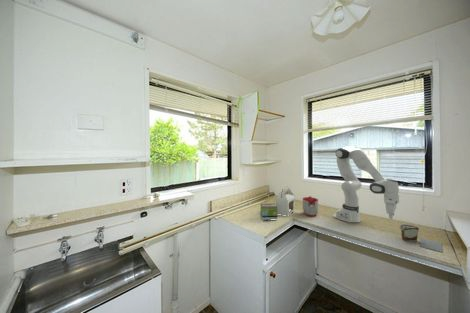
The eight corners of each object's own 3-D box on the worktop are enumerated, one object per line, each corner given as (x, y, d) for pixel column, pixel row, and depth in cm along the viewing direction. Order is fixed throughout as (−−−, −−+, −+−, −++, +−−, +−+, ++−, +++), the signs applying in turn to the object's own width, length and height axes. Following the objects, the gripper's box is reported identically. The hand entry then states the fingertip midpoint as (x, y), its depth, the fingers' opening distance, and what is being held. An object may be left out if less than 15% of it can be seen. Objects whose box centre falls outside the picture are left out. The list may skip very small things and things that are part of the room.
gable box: (287, 217, 176) (287, 190, 175) (275, 214, 184) (275, 188, 183) (294, 210, 194) (294, 186, 193) (283, 208, 202) (283, 185, 201)
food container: (410, 236, 133) (410, 223, 132) (419, 240, 127) (419, 227, 126) (395, 237, 132) (395, 224, 132) (403, 241, 126) (403, 228, 126)
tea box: (262, 221, 167) (262, 206, 166) (260, 217, 177) (260, 203, 177) (277, 220, 167) (277, 206, 167) (274, 216, 177) (274, 202, 177)
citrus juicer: (303, 217, 174) (303, 198, 173) (301, 211, 191) (301, 194, 190) (320, 218, 170) (320, 199, 169) (316, 212, 187) (316, 194, 186)
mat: (419, 246, 119) (419, 245, 119) (420, 238, 129) (420, 237, 129) (442, 252, 111) (442, 252, 111) (441, 243, 122) (441, 243, 122)
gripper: (388, 196, 144) (388, 212, 145) (383, 201, 131) (384, 219, 131) (398, 197, 140) (398, 214, 140) (395, 203, 126) (395, 221, 126)
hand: (391, 216), depth 135 cm, fingers open, 8 cm apart
